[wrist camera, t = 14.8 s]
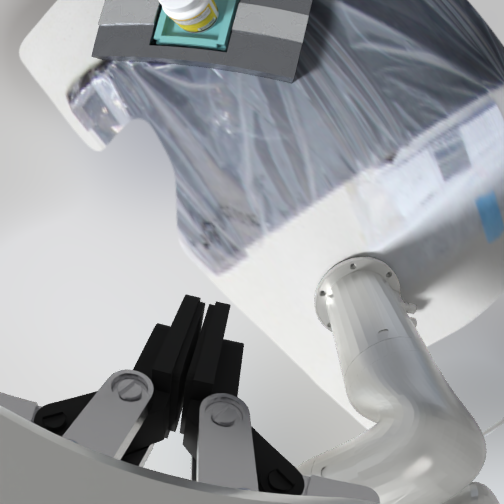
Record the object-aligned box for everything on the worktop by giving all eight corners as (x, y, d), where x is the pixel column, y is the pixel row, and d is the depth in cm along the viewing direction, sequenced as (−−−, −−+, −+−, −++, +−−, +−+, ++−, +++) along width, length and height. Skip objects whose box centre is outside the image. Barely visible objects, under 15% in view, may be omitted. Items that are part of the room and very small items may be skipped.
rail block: (311, -1, 29) (315, -15, 25) (291, 83, 33) (294, 78, 29) (128, -17, 28) (114, -28, 24) (106, 60, 33) (89, 56, 29)
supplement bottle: (183, -2, 27) (160, -30, 19) (223, 0, 27) (209, -30, 19) (174, 33, 29) (147, 12, 21) (214, 36, 29) (198, 12, 21)
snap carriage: (243, -5, 28) (240, -14, 25) (227, 54, 31) (223, 48, 28) (177, -10, 28) (170, -19, 25) (161, 47, 31) (152, 41, 28)
